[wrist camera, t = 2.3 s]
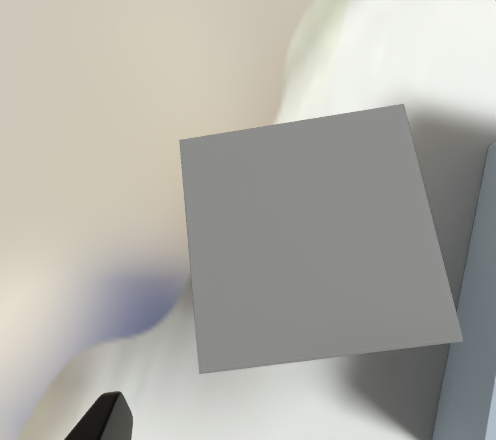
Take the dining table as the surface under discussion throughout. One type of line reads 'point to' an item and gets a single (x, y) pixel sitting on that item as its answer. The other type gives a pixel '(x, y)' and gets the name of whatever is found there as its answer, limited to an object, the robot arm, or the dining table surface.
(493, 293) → the socket block
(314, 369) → the dining table surface
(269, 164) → the gray block
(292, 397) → the dining table surface
